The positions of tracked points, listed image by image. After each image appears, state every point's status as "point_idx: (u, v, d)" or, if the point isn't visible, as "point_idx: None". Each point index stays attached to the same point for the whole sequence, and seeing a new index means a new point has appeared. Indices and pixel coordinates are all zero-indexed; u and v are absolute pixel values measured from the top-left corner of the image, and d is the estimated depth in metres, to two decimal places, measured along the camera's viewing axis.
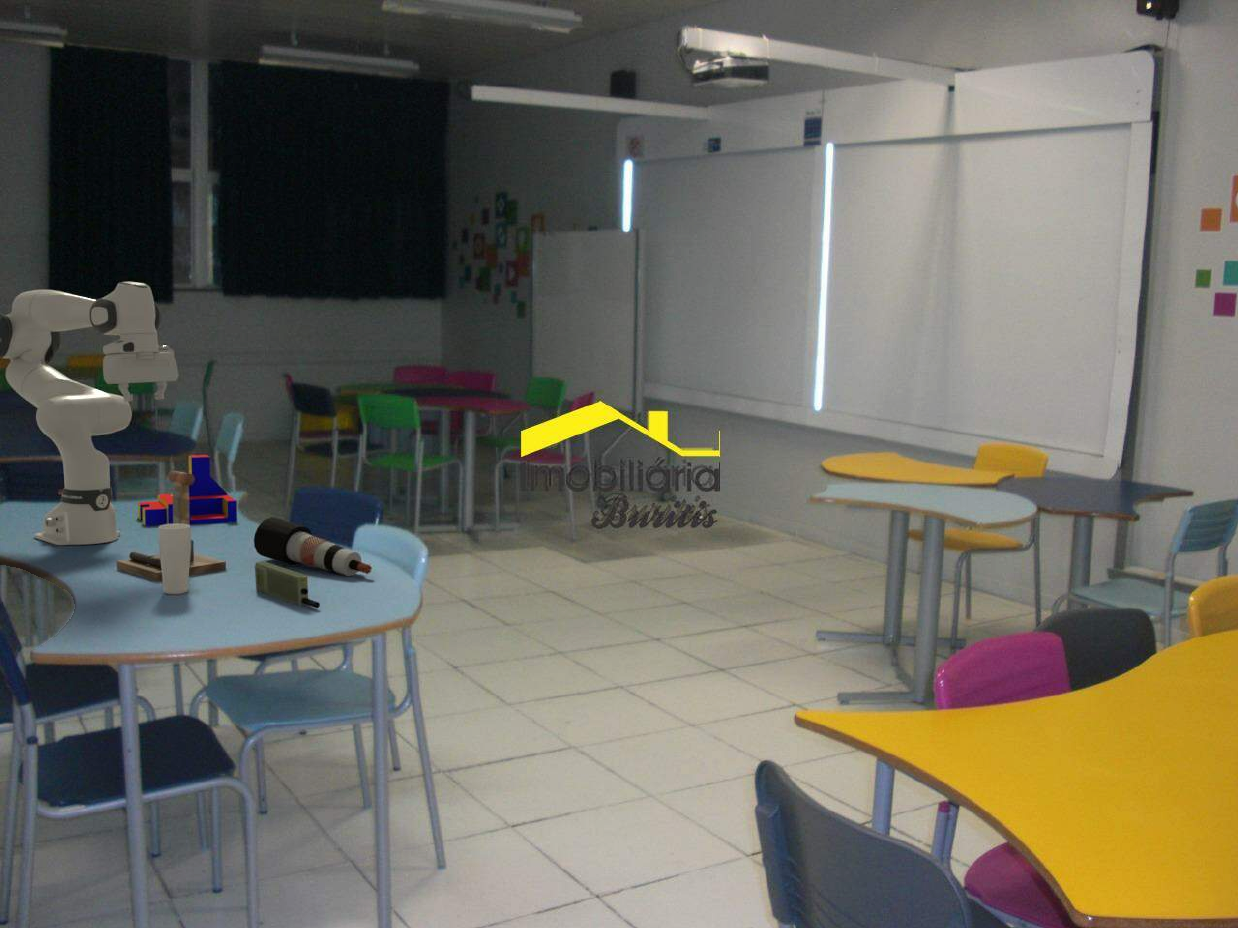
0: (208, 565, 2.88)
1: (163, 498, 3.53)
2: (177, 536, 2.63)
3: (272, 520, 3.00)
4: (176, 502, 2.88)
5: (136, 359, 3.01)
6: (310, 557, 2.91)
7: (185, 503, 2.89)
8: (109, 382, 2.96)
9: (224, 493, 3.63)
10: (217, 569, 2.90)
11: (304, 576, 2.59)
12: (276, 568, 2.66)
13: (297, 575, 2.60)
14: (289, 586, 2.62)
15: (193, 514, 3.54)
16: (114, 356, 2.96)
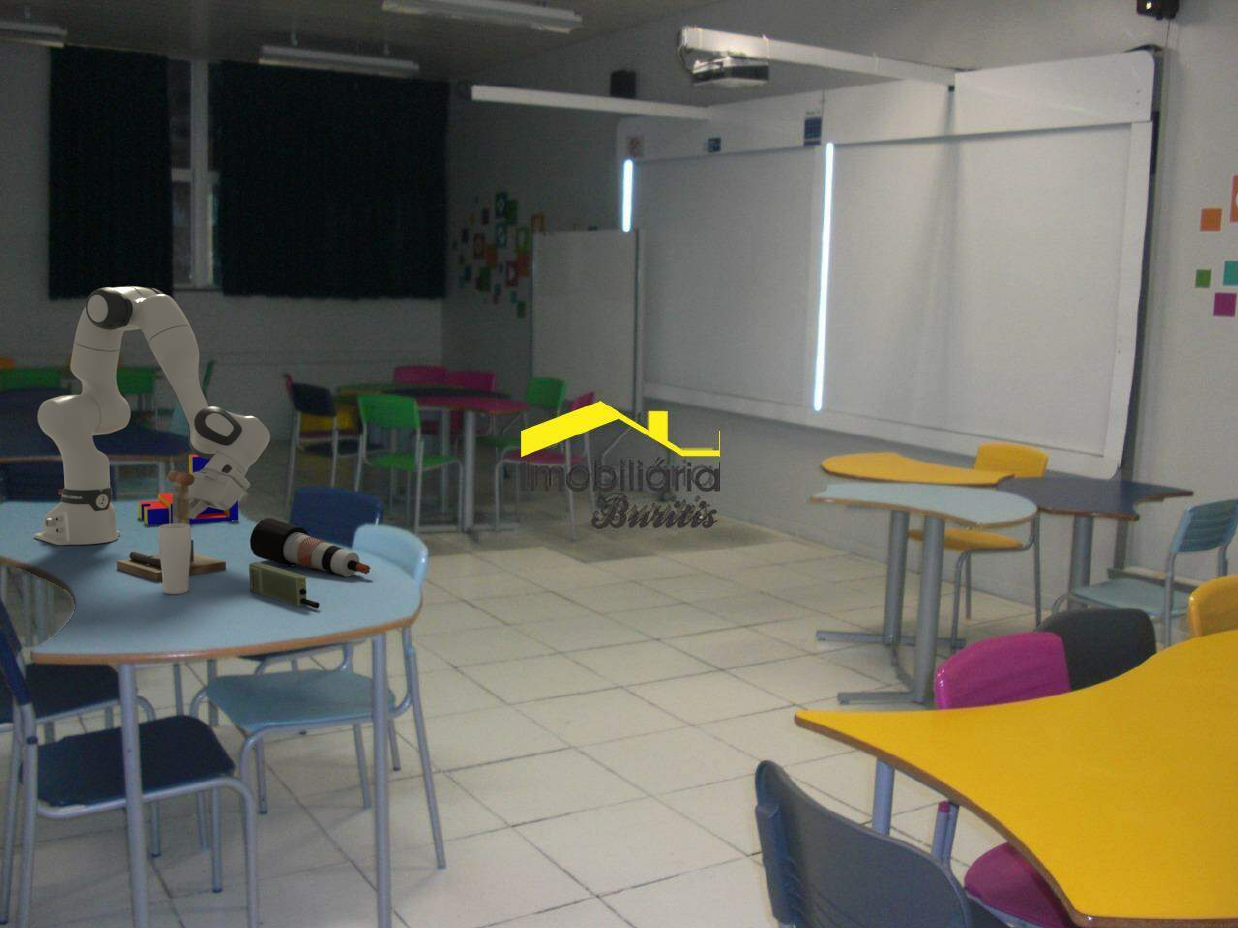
0: (208, 565, 2.88)
1: (164, 497, 3.54)
2: (177, 536, 2.63)
3: (268, 521, 2.99)
4: (176, 502, 2.88)
5: None
6: (308, 558, 2.90)
7: (185, 503, 2.89)
8: (223, 505, 2.88)
9: None
10: (217, 569, 2.90)
11: (303, 576, 2.59)
12: (272, 569, 2.65)
13: (295, 576, 2.60)
14: (287, 587, 2.61)
15: None
16: (241, 489, 2.92)
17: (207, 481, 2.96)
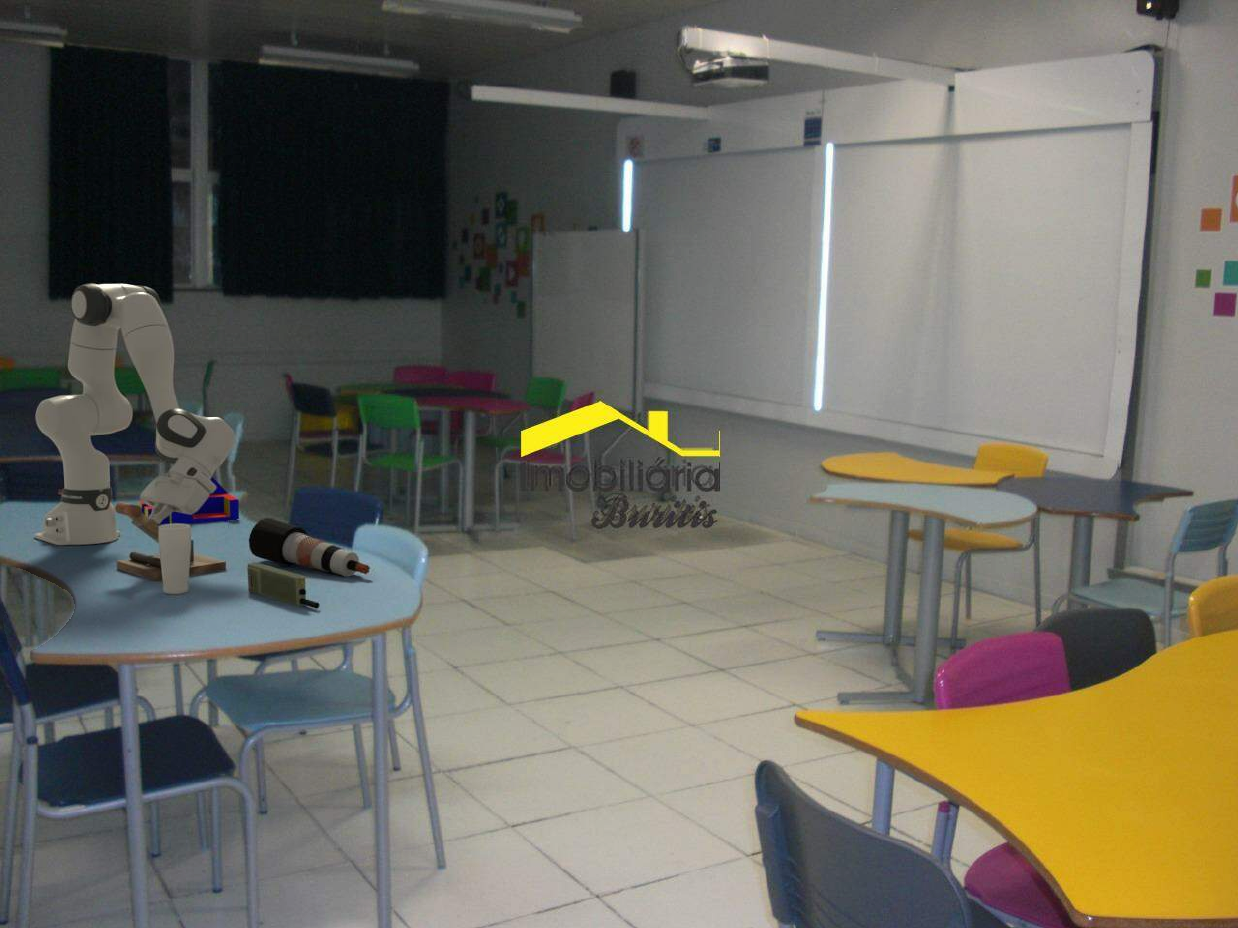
0: (208, 565, 2.88)
1: None
2: (177, 536, 2.63)
3: (266, 521, 2.99)
4: (143, 529, 2.83)
5: None
6: (307, 558, 2.90)
7: (150, 524, 2.83)
8: (189, 509, 2.81)
9: (225, 492, 3.65)
10: (217, 569, 2.90)
11: (302, 577, 2.58)
12: (271, 569, 2.65)
13: (295, 576, 2.59)
14: (286, 587, 2.61)
15: (195, 513, 3.56)
16: (207, 493, 2.85)
17: (172, 485, 2.88)
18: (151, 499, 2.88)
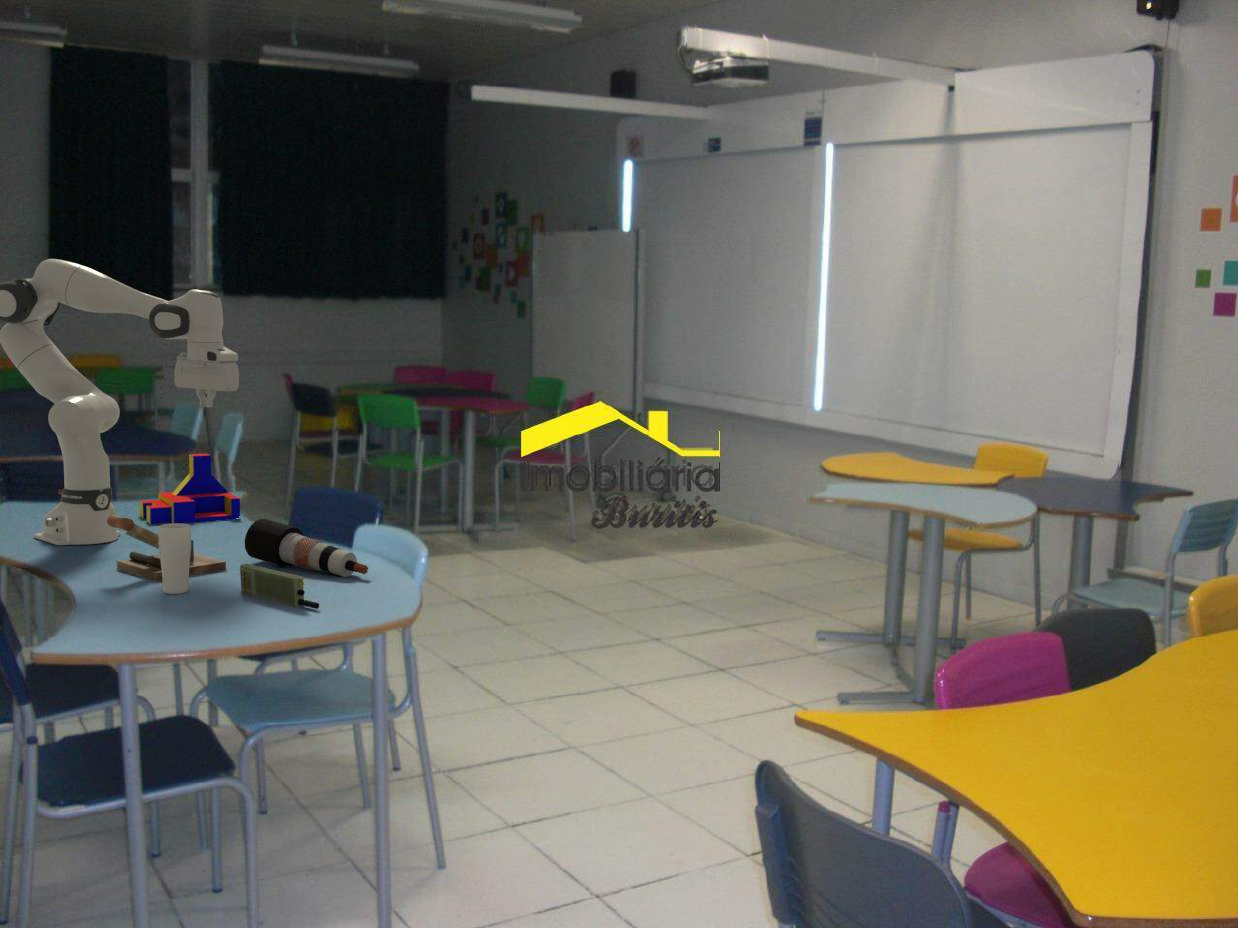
0: (208, 565, 2.88)
1: (166, 496, 3.56)
2: (177, 536, 2.63)
3: (262, 521, 2.98)
4: (138, 539, 2.82)
5: None
6: (304, 558, 2.89)
7: (145, 532, 2.82)
8: (233, 389, 3.06)
9: (225, 491, 3.66)
10: (217, 569, 2.90)
11: (300, 577, 2.58)
12: (266, 570, 2.64)
13: (292, 576, 2.59)
14: (283, 588, 2.60)
15: (196, 512, 3.58)
16: (235, 365, 3.07)
17: (199, 369, 3.09)
18: (189, 387, 3.11)
